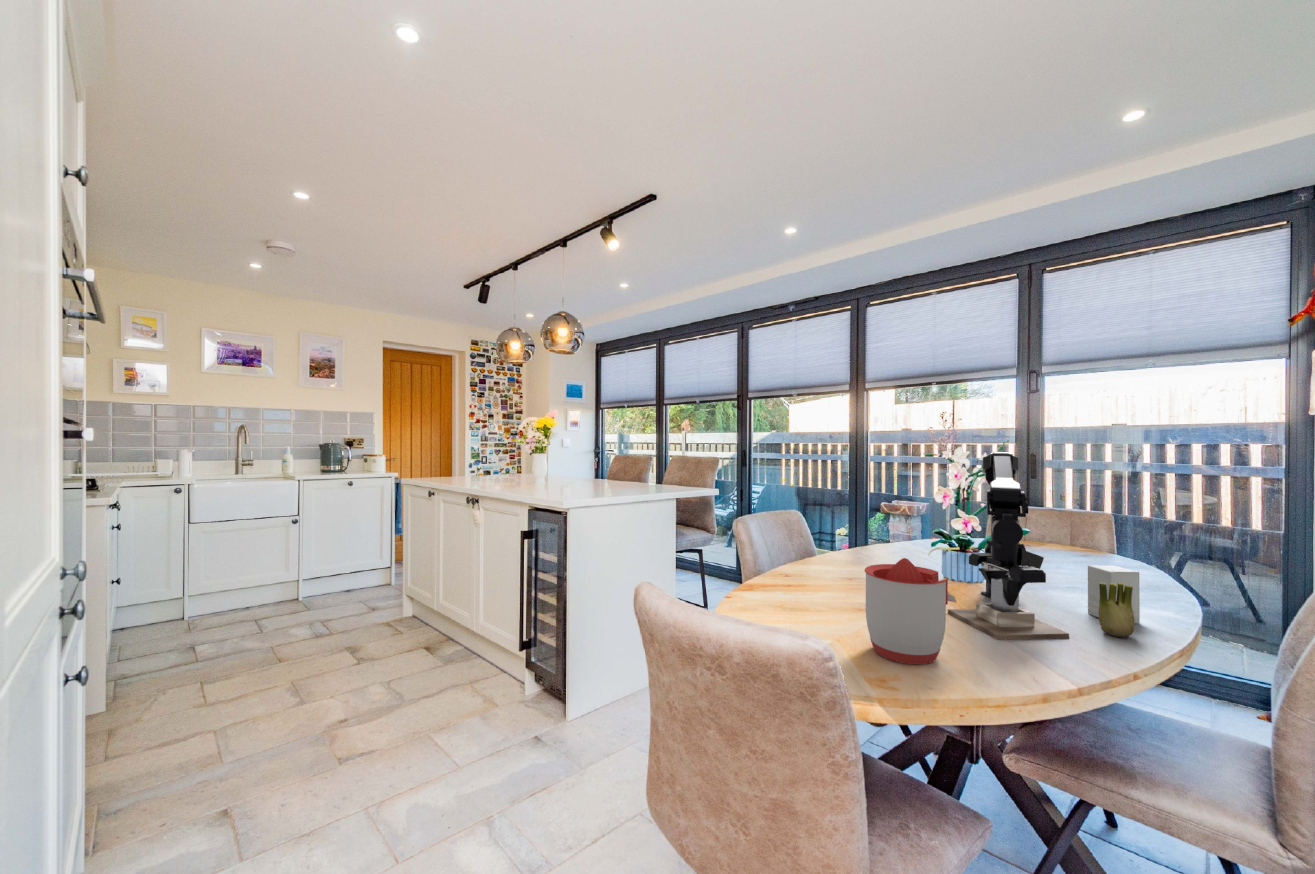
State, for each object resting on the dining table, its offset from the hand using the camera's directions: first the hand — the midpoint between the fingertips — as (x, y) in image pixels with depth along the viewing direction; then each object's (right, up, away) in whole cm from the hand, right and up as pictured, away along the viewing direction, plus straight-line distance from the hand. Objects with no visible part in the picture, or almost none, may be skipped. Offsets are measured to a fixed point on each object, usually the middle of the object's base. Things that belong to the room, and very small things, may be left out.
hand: (1004, 602), depth 129 cm
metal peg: (0, -3, 0) cm, 2 cm away
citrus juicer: (-32, -5, -18) cm, 37 cm away
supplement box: (+31, -6, +5) cm, 32 cm away
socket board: (0, -5, 0) cm, 5 cm away
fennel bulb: (+21, -6, -6) cm, 23 cm away
